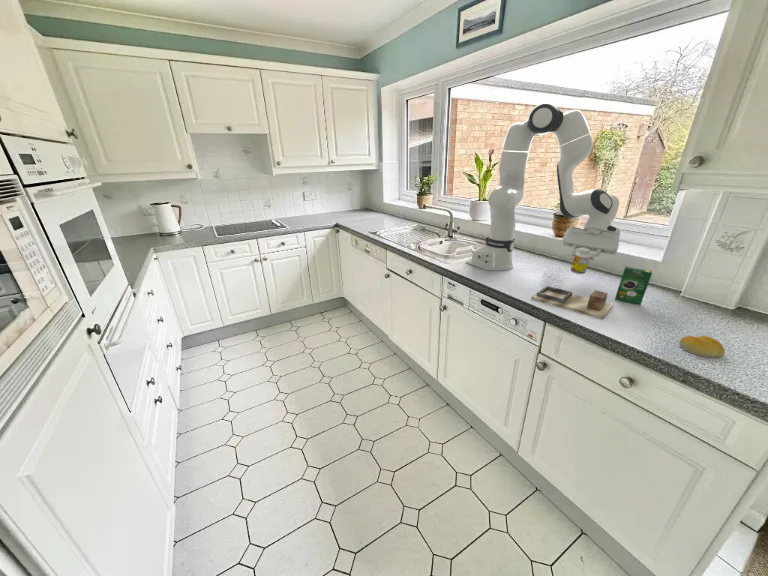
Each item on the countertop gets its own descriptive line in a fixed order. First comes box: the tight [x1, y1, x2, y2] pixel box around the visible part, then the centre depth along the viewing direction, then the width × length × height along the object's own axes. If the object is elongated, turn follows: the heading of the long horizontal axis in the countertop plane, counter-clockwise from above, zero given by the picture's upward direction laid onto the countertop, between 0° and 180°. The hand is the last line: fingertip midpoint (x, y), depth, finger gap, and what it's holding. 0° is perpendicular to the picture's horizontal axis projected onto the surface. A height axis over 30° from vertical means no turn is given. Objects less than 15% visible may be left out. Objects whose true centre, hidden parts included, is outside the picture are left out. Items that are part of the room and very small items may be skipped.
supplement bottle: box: [570, 248, 592, 275], centre depth 131 cm, size 6×6×10 cm
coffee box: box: [614, 266, 653, 306], centre depth 116 cm, size 8×3×13 cm, turn 53°
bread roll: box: [679, 335, 726, 359], centre depth 89 cm, size 8×9×4 cm
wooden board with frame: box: [531, 285, 614, 320], centre depth 118 cm, size 24×13×6 cm, turn 45°
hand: (582, 257), depth 131 cm, fingers closed on supplement bottle, 5 cm apart
